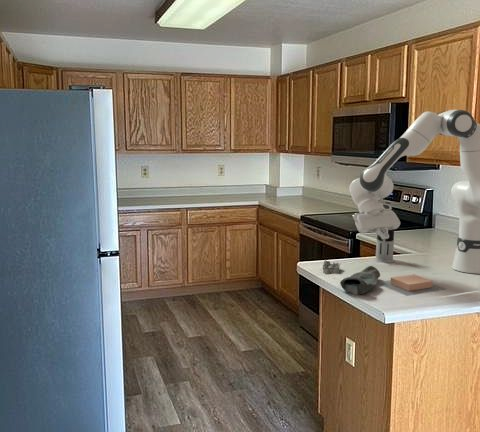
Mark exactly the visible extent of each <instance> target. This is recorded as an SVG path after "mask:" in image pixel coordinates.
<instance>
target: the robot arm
mask: <svg viewBox="0 0 480 432" xmlns="http://www.w3.org/2000/svg"><path fill="white" fill-rule="evenodd" d="M438 135H441V136H444V137H445V136H446V137H456V138H457V139H458V143H459V160H460V170H461V171H462V172H463V173H464V175H465V177H466V179H467V180H459V181H457V182H456V183H454V184H453V185H452V187H451V191H450V194H451V197H452V200H453V201H454V202H455V205H456V208H457V211H458V212H457V213H458V220H459V224H458V225H459V227H458V229H459V230H458V236H457V238H456V246H457V247H456V248H455V251H454V257H453V258H454V259H453V262H452V263H451V265H452V266H451V268H452V269H453V270H454V271H457V272H462V273H468V274H478V275H480V123H477V122H476V121H475V118H474V117H473V115H472V113H470V112H469V111H467V110H463V109H449V110H444V111H440V112H439V113H436V112H434V111H429V110H428V111H424V112H422V113H421V114H420V115H419V116H417V118H416V119H415V120H414V121H413V122H412V123H411V124H410V125H409V127H408V128H407V129H406V131H404V133H403V134H402V135H401V136H400V137H399V138H398V139H396V140H394V141H393V142H392V143H391V144H390V145H389V146H388V147H387V148H386V150H384V151H383V153H382V154H381V155H380V156H379V157H378V158H377V159H376V160H375V161H374V162H373V163H372V164H370V165H369V166H367V167H366V168H365V169H364V170H362V172H361V173H360V176H359V177H358V178H355V179H354V180H352V182H351V183H349V187H348V190H349V194H350V195H351V199H352V201H353V203H354V204H355V205H356V206H357V210H358V212H355V213H354V214H353V215H352V218H353V220H354V223H355V226H356V229H357V231H358V232H359V233H360V234H365V233H373V232H374V233H375V234H376V235H377V234H378V235H379V236H380V237H381V238H382V239H388V238H389V234H388V230H391V229H394V230H397V229H398V228H399V227H400V225H401V221H400V219H399V217H398V215H397V214H396V213H395V211H394V210H392V209H393V207H392V206H391V205H390V204H385V203H383V202H382V203H381V202H379V201H381V200H383V199H386V198H387V197H389V196H390V195H392V193H393V191H394V186H395V185H394V184H395V183H394V182H393V180H392V179H391V178H390V177H389V176H388V175H387V172H388V171H389V170H390V169H391V168H392V167H393V165H394V164H396V162H397V161H398V160H399V159H400V158H402V157H405V156H410V157H415V156H419V155H421V154H422V153H423V152H424V151H425V150H427V148H428V147H430V144H431V143H432V142H433V140H434V139H435V138H436V137H437V136H438ZM381 231H383V232H384V234H383V233H382V232H381Z"/></svg>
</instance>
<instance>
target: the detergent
mask: <svg viewBox="0 0 480 432" xmlns="http://www.w3.org/2000/svg"><path fill="white" fill-rule="evenodd" d="M380 277H381V273H380V271H379V269H377V268H376V266H375V267H374V266H373V265H368V266H367V267H365V268H364V269H362V270H361V271H359V272H356V273H353V274H352V275H350V276H347V277H344V278H343V279H342V280H341V281H340V282H339V284H340V286H341V288H342V289H343V290H344V291H345V292H347V294H348V293H349V294H352V295H357V296H358V295H363V294H365V293H368V292H369V291H370V290H371V289H372V288H374V287H375V286H376V285H377V282H379V280H378V279H379V278H380Z"/></svg>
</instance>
